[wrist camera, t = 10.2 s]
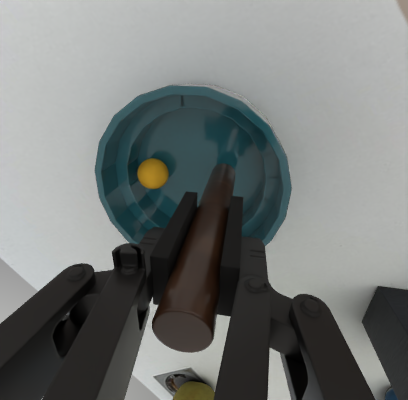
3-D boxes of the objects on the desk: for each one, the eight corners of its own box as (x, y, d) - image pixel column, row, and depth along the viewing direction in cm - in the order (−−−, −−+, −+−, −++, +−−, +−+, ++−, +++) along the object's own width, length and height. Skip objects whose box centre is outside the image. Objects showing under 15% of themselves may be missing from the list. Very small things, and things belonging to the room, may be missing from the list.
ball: (171, 155, 25) (162, 165, 22) (172, 183, 26) (163, 195, 24) (143, 153, 25) (130, 162, 23) (145, 181, 27) (133, 192, 24)
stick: (236, 164, 22) (215, 315, 8) (234, 186, 23) (212, 358, 9) (212, 162, 22) (149, 305, 8) (211, 184, 23) (152, 347, 9)
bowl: (296, 88, 21) (312, 91, 16) (268, 243, 28) (272, 281, 23) (118, 80, 23) (79, 80, 18) (133, 227, 31) (108, 258, 25)
